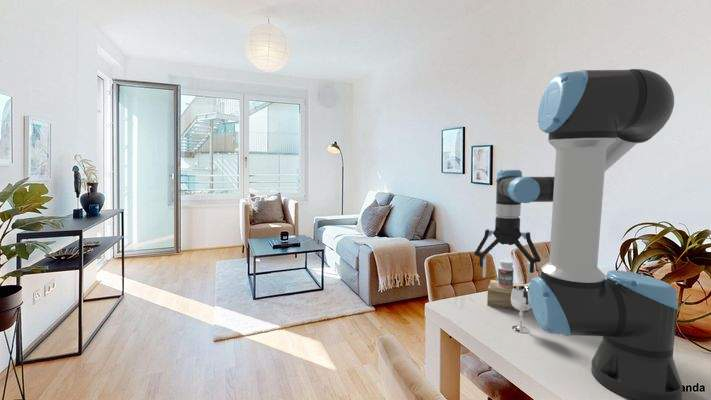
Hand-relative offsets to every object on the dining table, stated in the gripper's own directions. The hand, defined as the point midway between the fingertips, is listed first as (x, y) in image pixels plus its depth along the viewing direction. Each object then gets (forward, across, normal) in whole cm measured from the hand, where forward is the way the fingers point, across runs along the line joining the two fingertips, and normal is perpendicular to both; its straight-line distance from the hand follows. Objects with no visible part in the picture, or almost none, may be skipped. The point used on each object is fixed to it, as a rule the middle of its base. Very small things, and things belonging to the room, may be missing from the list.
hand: (505, 279), depth 118 cm
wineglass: (+8, -6, +19) cm, 21 cm away
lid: (+3, -1, 0) cm, 3 cm away
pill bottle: (+2, 0, 0) cm, 2 cm away
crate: (+8, -1, 0) cm, 8 cm away
